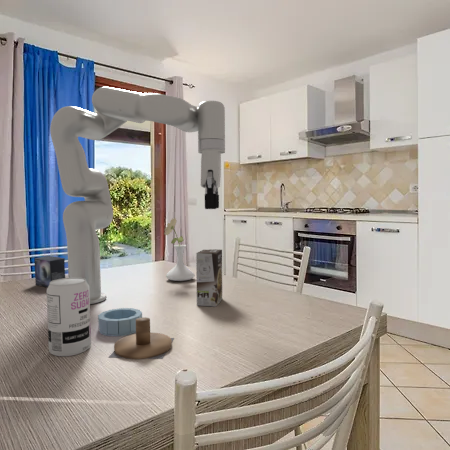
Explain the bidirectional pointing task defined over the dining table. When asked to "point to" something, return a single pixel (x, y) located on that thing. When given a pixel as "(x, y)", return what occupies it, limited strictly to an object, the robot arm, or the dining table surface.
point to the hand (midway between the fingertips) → (212, 208)
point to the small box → (48, 270)
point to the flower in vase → (178, 257)
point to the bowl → (118, 321)
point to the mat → (145, 358)
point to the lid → (142, 342)
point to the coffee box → (209, 277)
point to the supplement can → (68, 316)
